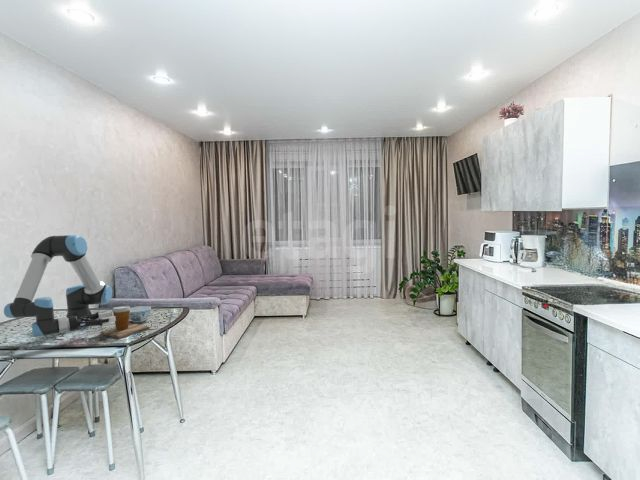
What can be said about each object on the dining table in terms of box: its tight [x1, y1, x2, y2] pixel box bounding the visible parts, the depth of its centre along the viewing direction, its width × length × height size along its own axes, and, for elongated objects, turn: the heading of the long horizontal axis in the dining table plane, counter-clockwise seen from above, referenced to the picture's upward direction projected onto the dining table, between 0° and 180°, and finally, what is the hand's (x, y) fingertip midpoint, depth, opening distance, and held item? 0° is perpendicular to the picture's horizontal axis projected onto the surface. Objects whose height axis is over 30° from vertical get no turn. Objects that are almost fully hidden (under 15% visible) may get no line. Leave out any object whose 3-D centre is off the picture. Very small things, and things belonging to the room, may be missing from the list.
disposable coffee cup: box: [111, 305, 132, 329], centre depth 222 cm, size 10×10×12 cm
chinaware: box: [129, 305, 152, 324], centre depth 242 cm, size 15×15×8 cm
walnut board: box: [100, 322, 150, 339], centre depth 220 cm, size 18×18×2 cm
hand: (113, 316), depth 216 cm, fingers open, 13 cm apart
